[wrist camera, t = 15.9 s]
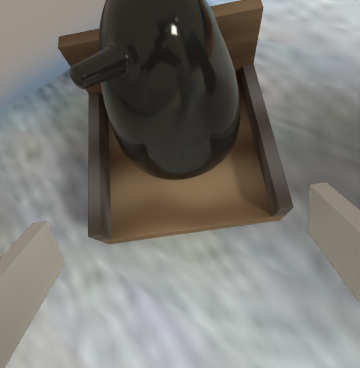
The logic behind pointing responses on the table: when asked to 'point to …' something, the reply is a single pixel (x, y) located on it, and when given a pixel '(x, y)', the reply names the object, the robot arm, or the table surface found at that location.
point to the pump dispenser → (165, 85)
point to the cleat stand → (194, 187)
